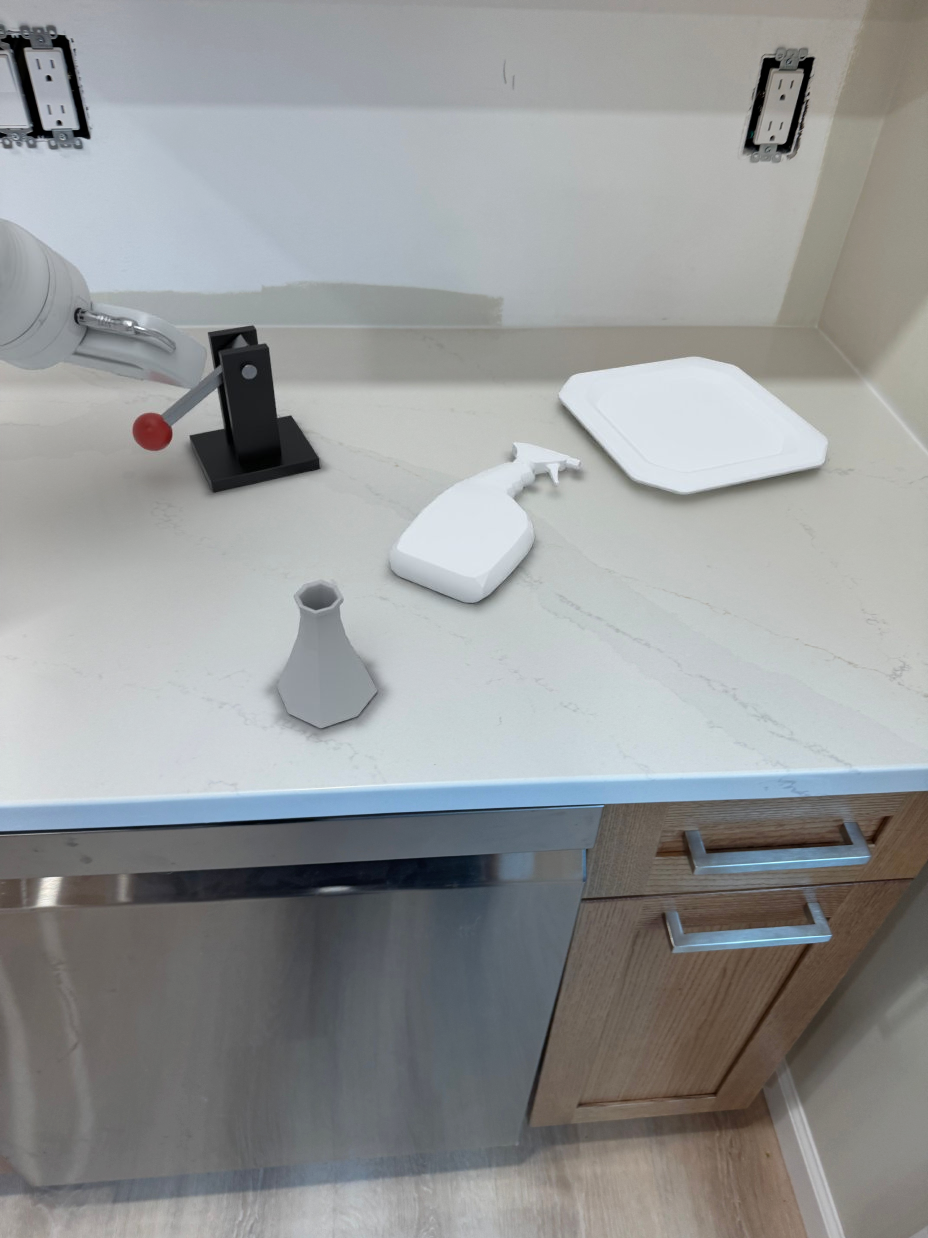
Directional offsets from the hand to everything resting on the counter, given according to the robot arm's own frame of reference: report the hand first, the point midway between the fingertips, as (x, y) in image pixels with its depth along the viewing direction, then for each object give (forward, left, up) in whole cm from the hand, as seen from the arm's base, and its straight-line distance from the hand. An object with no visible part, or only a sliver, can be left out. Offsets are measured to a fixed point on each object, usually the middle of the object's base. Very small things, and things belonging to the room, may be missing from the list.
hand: (133, 368), depth 73 cm
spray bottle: (+28, -18, -12) cm, 35 cm away
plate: (+56, -12, -12) cm, 58 cm away
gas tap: (+10, +1, -12) cm, 15 cm away
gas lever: (+6, +1, -6) cm, 8 cm away
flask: (+6, -32, -12) cm, 35 cm away
